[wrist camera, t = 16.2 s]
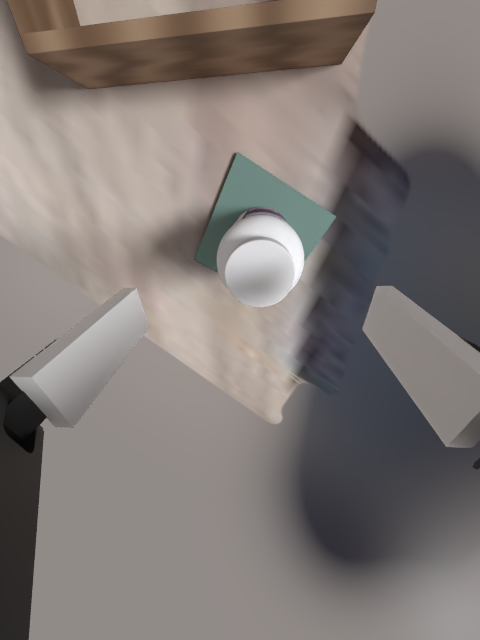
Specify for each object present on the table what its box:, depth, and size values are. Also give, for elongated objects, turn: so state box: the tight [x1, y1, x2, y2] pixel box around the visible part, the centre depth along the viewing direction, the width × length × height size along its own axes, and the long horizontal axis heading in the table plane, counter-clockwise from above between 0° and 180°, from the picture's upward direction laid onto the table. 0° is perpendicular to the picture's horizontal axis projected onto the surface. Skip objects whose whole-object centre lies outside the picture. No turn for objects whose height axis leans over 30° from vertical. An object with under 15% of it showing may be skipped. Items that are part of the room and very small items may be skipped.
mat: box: [194, 152, 336, 272], centre depth 29 cm, size 14×14×1 cm
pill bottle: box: [217, 207, 304, 307], centre depth 22 cm, size 8×8×14 cm
